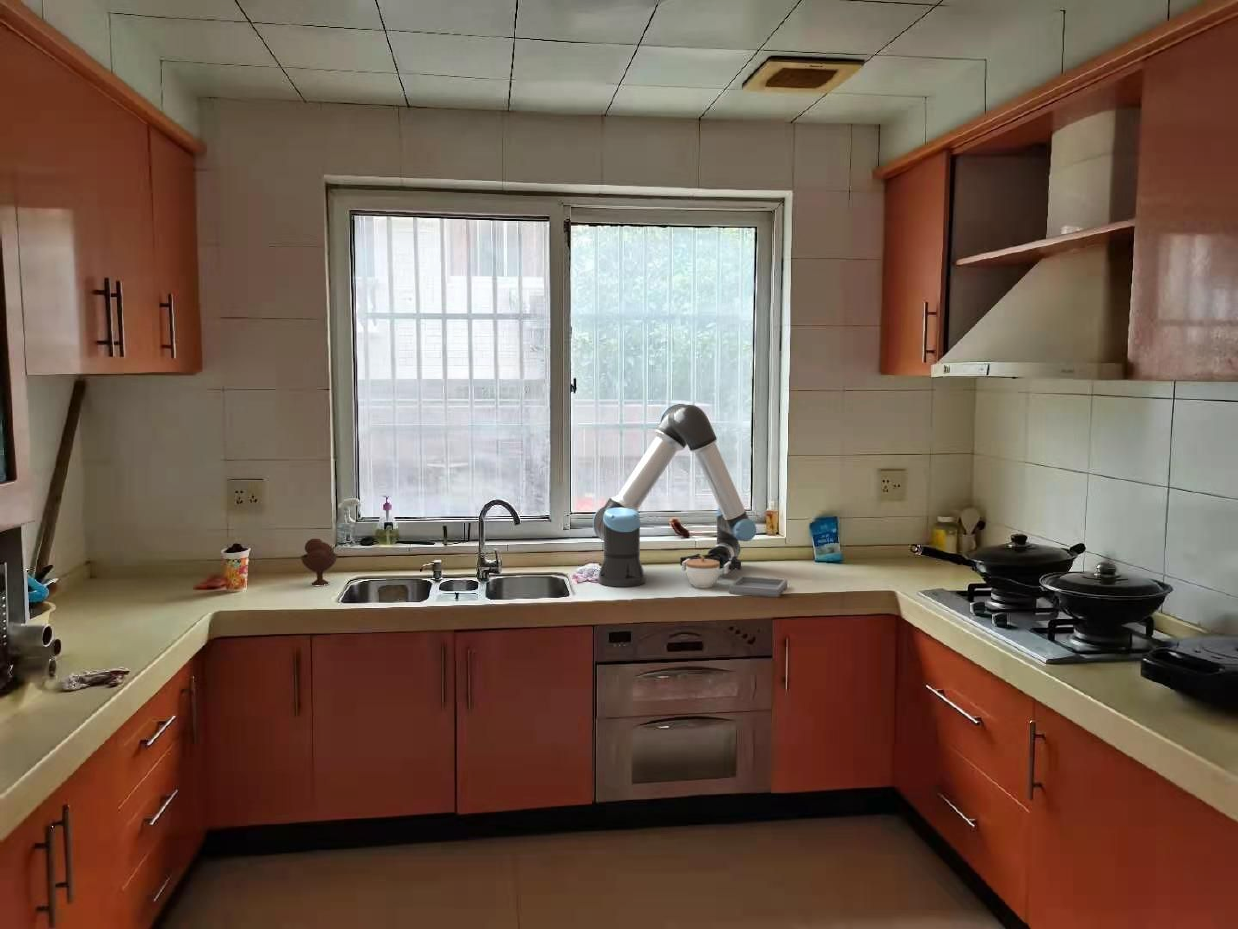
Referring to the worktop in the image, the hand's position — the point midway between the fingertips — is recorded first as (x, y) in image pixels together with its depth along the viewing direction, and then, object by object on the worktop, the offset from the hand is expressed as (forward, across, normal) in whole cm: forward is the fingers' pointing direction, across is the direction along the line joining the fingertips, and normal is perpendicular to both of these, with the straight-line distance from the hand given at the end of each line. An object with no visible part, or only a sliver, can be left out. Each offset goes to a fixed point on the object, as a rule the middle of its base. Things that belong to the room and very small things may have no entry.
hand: (703, 568), depth 282 cm
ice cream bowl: (+40, +116, -6) cm, 123 cm away
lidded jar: (-1, 0, -6) cm, 6 cm away
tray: (0, -18, -6) cm, 18 cm away
